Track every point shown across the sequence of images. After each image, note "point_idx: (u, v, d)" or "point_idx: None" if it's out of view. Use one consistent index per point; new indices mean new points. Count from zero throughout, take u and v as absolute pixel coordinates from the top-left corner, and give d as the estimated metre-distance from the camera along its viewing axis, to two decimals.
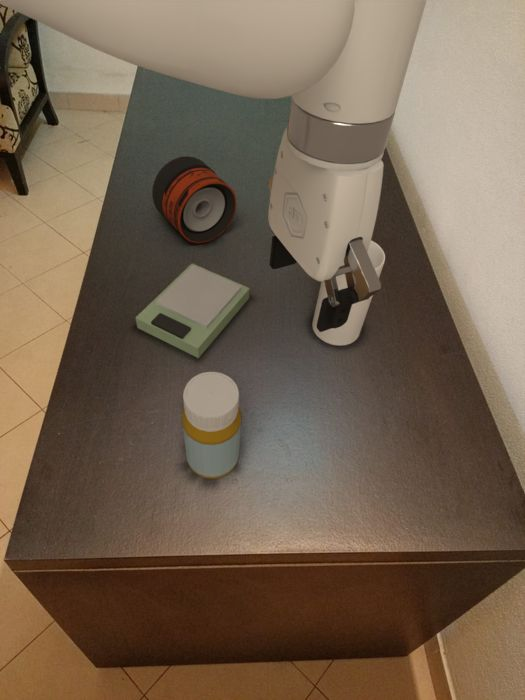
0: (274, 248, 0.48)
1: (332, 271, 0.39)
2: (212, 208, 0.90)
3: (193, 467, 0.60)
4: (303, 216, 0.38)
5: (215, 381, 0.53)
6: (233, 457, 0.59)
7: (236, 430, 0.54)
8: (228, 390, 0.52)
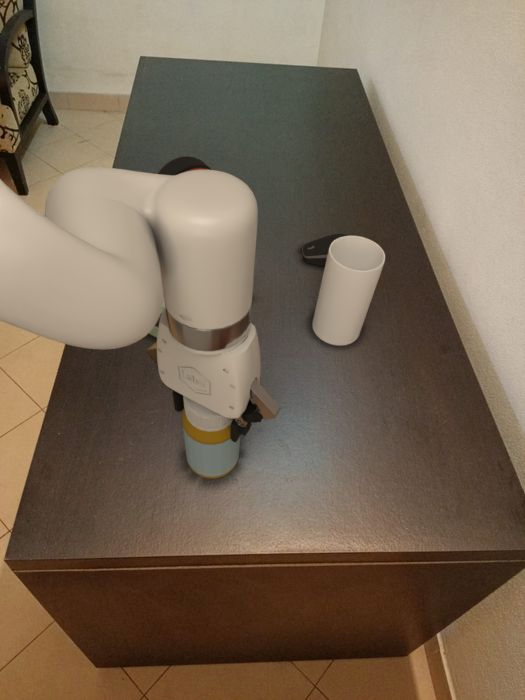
0: (177, 399, 0.53)
1: (244, 408, 0.47)
2: None
3: (193, 467, 0.60)
4: (205, 381, 0.45)
5: None
6: (233, 457, 0.59)
7: None
8: None
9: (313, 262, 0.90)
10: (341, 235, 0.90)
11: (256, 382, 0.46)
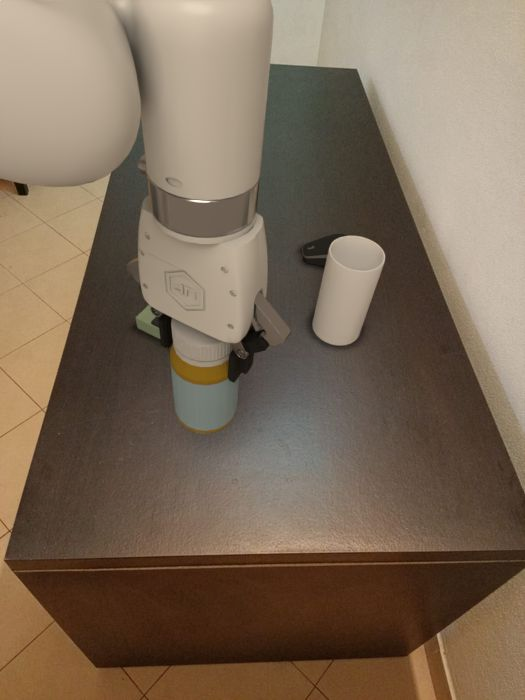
0: (164, 329, 0.44)
1: (246, 329, 0.38)
2: None
3: (183, 419, 0.51)
4: (199, 290, 0.36)
5: None
6: (230, 407, 0.50)
7: None
8: None
9: (313, 262, 0.90)
10: (341, 235, 0.90)
11: (262, 296, 0.37)
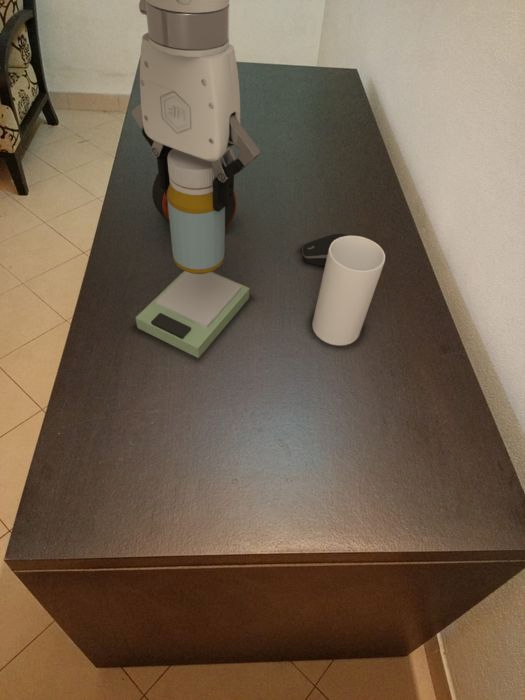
0: (162, 169, 0.55)
1: (224, 147, 0.48)
2: None
3: (179, 259, 0.62)
4: (186, 109, 0.46)
5: None
6: (217, 247, 0.61)
7: None
8: None
9: (313, 262, 0.90)
10: (341, 235, 0.90)
11: (235, 120, 0.48)
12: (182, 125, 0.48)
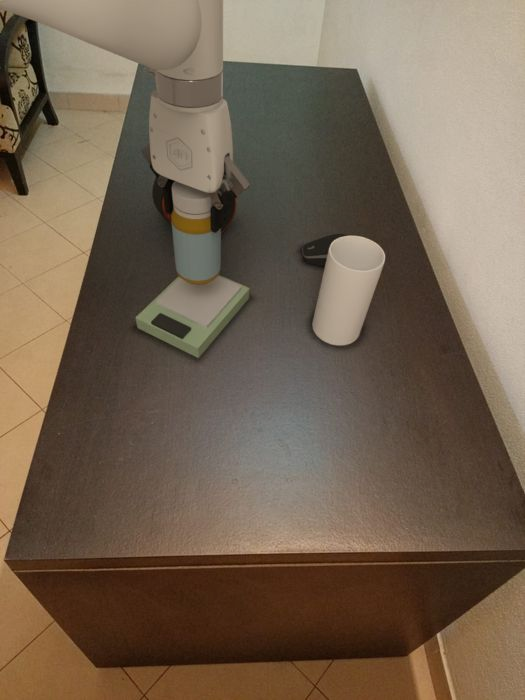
0: (166, 197, 0.65)
1: (219, 181, 0.58)
2: None
3: (181, 272, 0.71)
4: (188, 151, 0.56)
5: None
6: (215, 261, 0.70)
7: None
8: None
9: (313, 262, 0.90)
10: (341, 235, 0.90)
11: (229, 159, 0.58)
12: (184, 164, 0.58)
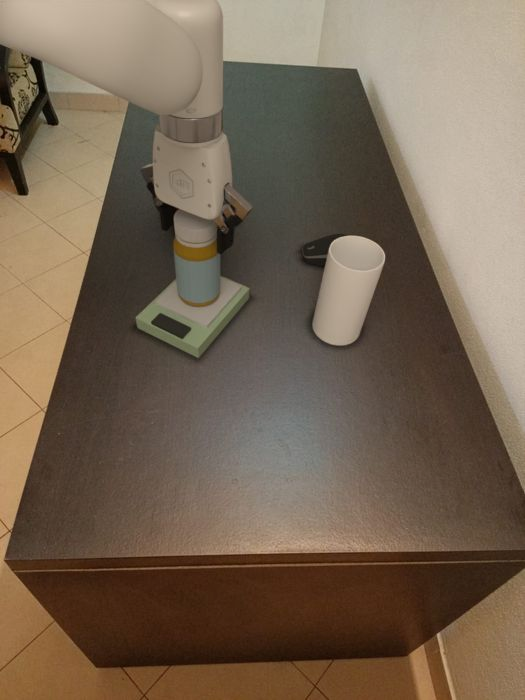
0: (163, 215, 0.68)
1: (219, 209, 0.61)
2: None
3: (182, 295, 0.75)
4: (189, 182, 0.59)
5: None
6: (214, 285, 0.74)
7: (215, 252, 0.69)
8: None
9: (313, 262, 0.90)
10: (341, 235, 0.90)
11: None
12: (186, 193, 0.61)
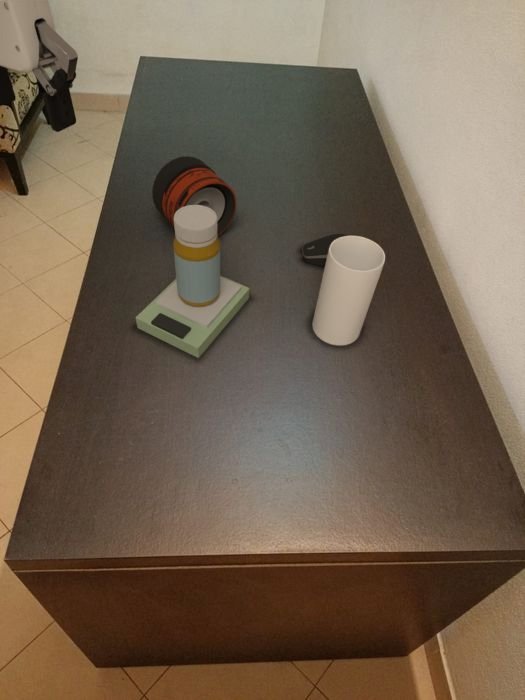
0: None
1: (35, 57, 0.47)
2: (212, 208, 0.90)
3: (182, 295, 0.75)
4: None
5: (199, 211, 0.68)
6: (214, 285, 0.74)
7: (215, 252, 0.69)
8: (209, 216, 0.67)
9: (313, 262, 0.90)
10: (341, 235, 0.90)
11: None
12: None
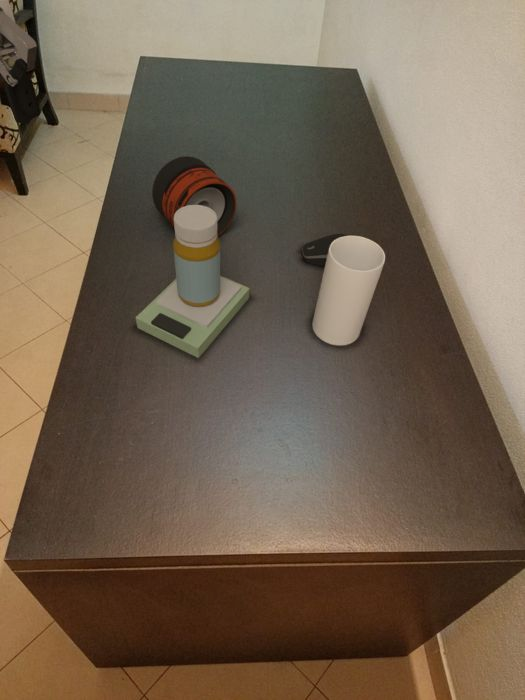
0: None
1: None
2: (212, 208, 0.90)
3: (182, 295, 0.75)
4: None
5: (199, 211, 0.68)
6: (214, 285, 0.74)
7: (215, 252, 0.69)
8: (209, 216, 0.67)
9: (313, 262, 0.90)
10: (341, 235, 0.90)
11: None
12: None
